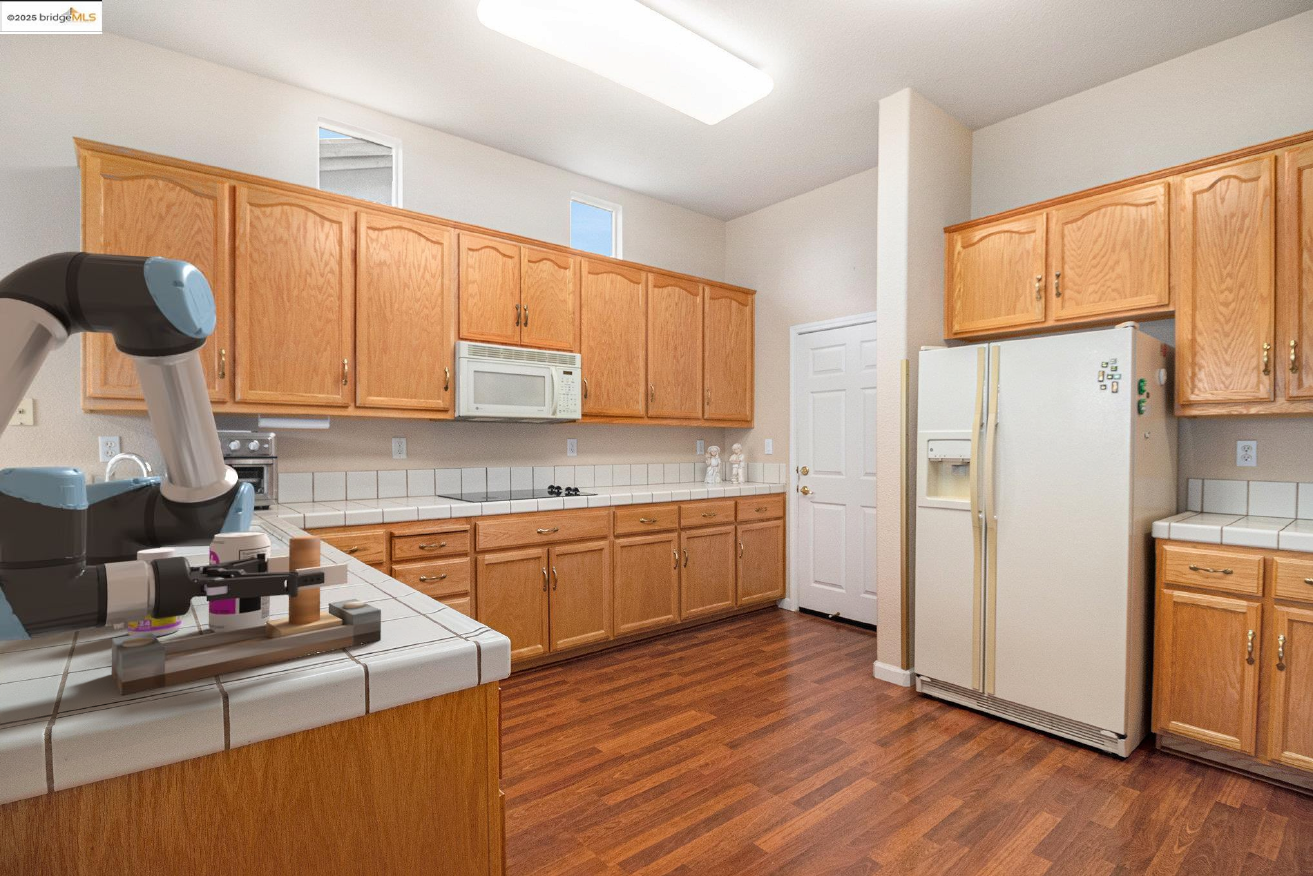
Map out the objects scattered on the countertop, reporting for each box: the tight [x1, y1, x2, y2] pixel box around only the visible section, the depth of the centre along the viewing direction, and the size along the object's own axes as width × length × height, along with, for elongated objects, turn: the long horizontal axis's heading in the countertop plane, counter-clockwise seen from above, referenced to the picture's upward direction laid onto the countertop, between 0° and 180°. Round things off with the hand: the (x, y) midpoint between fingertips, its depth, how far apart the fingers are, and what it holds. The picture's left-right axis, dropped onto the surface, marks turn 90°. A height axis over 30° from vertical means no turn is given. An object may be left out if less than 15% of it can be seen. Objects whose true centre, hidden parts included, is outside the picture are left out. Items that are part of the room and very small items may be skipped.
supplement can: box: [208, 530, 271, 633], centre depth 103 cm, size 8×8×15 cm
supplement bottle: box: [127, 547, 183, 638], centre depth 100 cm, size 7×7×13 cm
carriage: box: [266, 535, 342, 639], centre depth 93 cm, size 7×8×14 cm
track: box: [111, 598, 382, 695], centre depth 89 cm, size 10×30×5 cm, turn 136°
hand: (330, 567), depth 96 cm, fingers open, 12 cm apart
